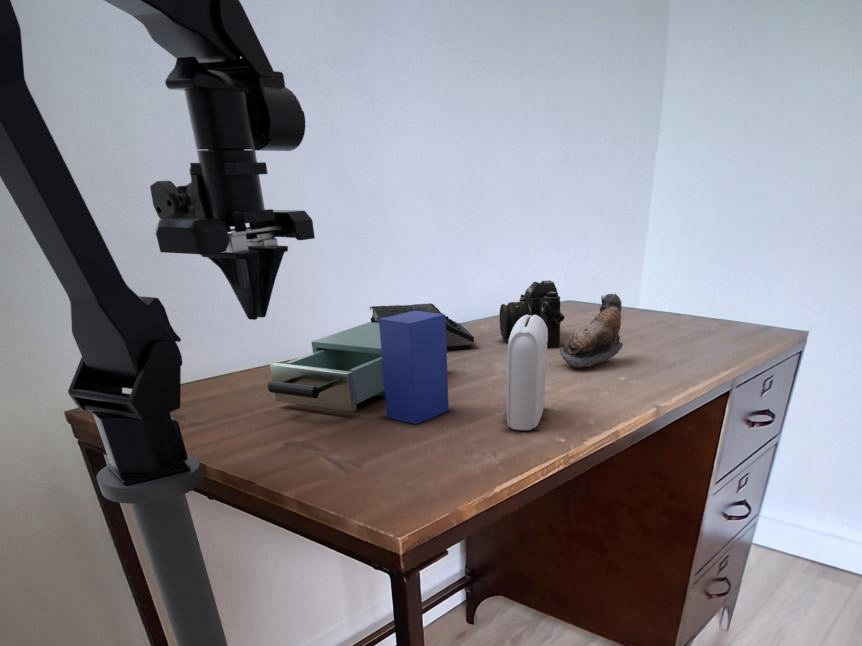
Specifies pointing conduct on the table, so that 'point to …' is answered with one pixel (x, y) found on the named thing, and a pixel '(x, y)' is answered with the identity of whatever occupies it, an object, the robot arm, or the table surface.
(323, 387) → the drawer
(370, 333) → the cabinet
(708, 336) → the table surface
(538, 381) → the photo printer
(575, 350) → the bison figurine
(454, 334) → the electronic device
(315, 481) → the table surface
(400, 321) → the carton
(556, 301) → the film camera
